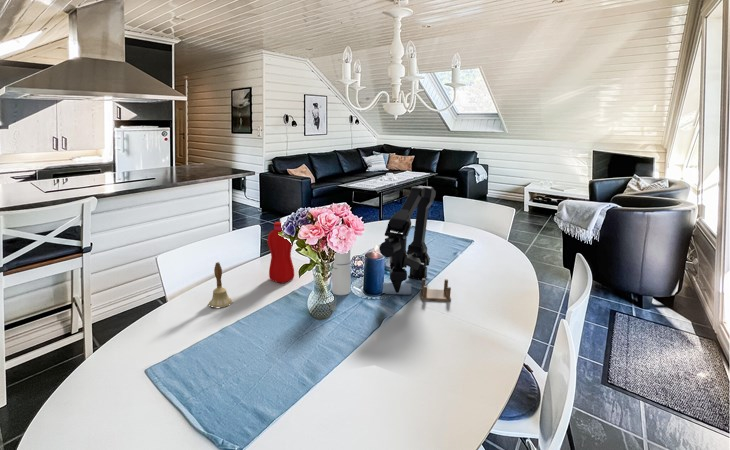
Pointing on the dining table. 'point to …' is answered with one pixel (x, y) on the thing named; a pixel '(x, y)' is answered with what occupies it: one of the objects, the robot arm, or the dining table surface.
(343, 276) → the cylindrical container
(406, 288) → the cylinder
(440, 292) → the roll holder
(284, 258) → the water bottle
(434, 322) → the dining table surface
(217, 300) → the hand bell
